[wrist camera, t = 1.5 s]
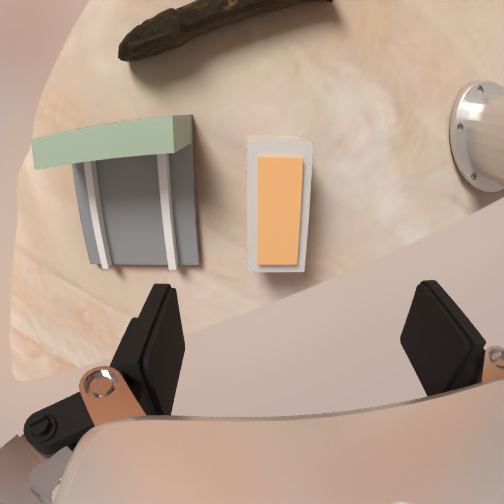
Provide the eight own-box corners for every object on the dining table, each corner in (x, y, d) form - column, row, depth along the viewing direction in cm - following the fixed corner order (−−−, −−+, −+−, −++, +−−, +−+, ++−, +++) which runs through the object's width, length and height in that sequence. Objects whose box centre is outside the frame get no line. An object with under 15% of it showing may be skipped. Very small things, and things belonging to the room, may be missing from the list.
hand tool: (316, -29, 18) (327, -50, 14) (333, 4, 19) (347, -13, 15) (120, 38, 21) (98, 28, 16) (133, 72, 22) (111, 66, 18)
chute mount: (192, 114, 24) (172, 115, 18) (200, 260, 30) (187, 300, 24) (74, 129, 24) (31, 139, 18) (94, 259, 30) (64, 294, 24)
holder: (299, 136, 25) (314, 144, 19) (294, 241, 30) (305, 275, 24) (247, 135, 25) (246, 142, 19) (248, 241, 30) (247, 276, 24)
